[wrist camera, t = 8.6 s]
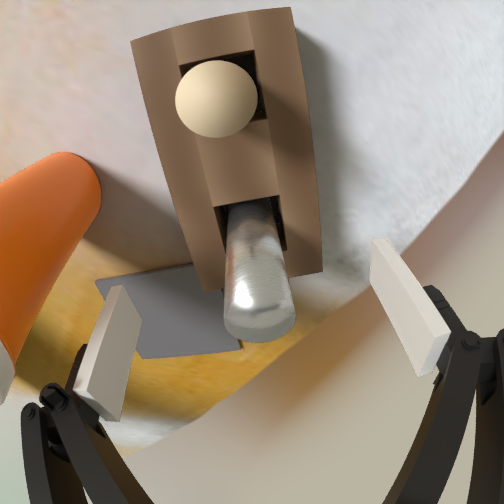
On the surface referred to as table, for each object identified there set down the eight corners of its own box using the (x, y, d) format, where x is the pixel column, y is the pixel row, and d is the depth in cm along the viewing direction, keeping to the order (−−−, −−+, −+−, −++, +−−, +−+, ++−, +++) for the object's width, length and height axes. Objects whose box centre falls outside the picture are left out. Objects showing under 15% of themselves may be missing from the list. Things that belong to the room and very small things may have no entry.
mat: (143, 356, 33) (142, 359, 33) (96, 280, 27) (94, 282, 26) (240, 347, 32) (240, 349, 32) (212, 259, 26) (212, 262, 26)
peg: (233, 226, 24) (232, 346, 14) (224, 189, 22) (215, 299, 12) (273, 219, 24) (298, 336, 14) (266, 181, 22) (292, 287, 12)
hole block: (207, 261, 26) (203, 291, 23) (149, 45, 16) (130, 41, 13) (311, 242, 25) (322, 271, 22) (280, 18, 15) (290, 6, 12)
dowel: (208, 112, 19) (185, 145, 11) (199, 72, 17) (167, 71, 9) (252, 104, 19) (263, 129, 11) (244, 63, 17) (249, 53, 9)
